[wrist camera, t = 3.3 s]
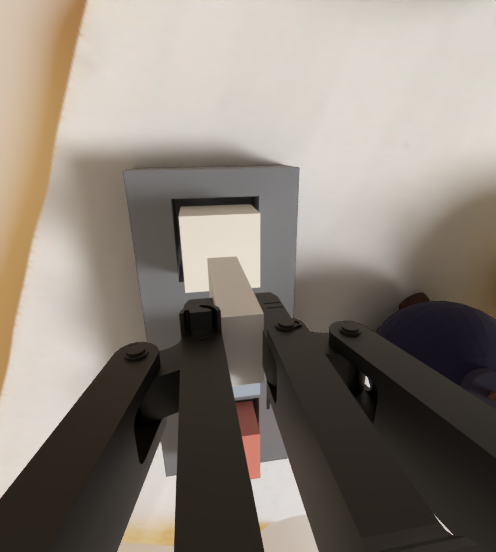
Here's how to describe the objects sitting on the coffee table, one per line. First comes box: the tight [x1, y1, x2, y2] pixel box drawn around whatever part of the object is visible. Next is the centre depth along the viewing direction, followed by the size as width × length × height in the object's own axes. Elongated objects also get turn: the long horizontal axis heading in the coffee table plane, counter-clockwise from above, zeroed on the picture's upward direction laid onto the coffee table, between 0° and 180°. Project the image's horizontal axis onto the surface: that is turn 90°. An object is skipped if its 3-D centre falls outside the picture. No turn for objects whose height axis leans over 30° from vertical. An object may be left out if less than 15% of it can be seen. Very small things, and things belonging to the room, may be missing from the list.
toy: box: [368, 293, 496, 409], centre depth 27 cm, size 12×14×15 cm
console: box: [123, 165, 299, 477], centre depth 29 cm, size 28×12×4 cm, turn 1°
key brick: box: [235, 401, 260, 479], centre depth 29 cm, size 5×5×4 cm
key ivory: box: [179, 204, 260, 293], centre depth 23 cm, size 5×5×4 cm
